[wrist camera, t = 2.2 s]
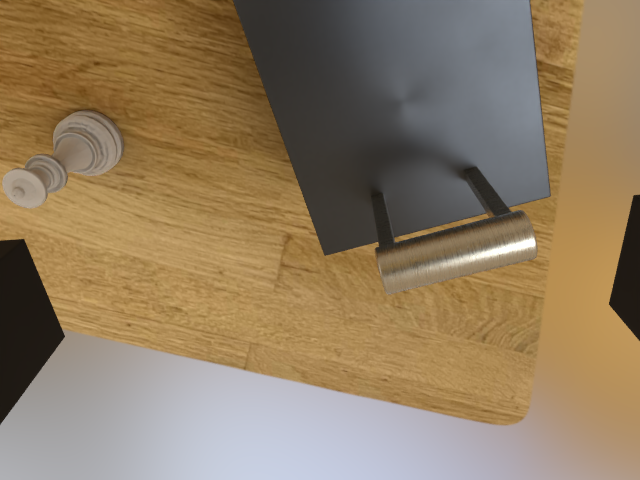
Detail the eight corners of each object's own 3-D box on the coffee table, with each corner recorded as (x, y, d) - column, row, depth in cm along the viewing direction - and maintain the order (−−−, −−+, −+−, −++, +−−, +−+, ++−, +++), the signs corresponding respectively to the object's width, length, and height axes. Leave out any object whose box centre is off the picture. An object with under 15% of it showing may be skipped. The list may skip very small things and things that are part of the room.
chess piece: (51, 141, 35) (-42, 197, 27) (82, 95, 34) (-6, 139, 25) (104, 181, 37) (32, 246, 28) (136, 138, 35) (71, 194, 26)
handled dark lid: (545, 191, 27) (631, 278, 19) (324, 249, 29) (322, 349, 21) (511, -117, 21) (620, -172, 13) (230, -15, 23) (177, -8, 15)
